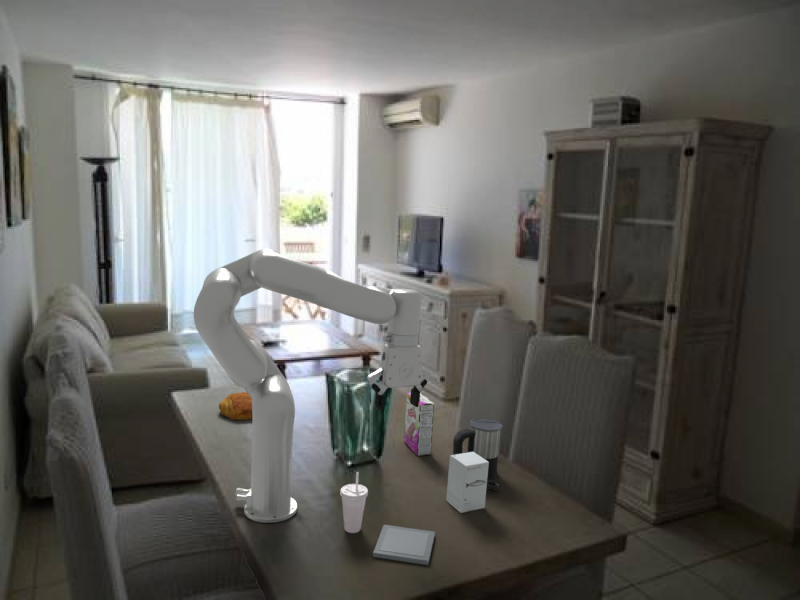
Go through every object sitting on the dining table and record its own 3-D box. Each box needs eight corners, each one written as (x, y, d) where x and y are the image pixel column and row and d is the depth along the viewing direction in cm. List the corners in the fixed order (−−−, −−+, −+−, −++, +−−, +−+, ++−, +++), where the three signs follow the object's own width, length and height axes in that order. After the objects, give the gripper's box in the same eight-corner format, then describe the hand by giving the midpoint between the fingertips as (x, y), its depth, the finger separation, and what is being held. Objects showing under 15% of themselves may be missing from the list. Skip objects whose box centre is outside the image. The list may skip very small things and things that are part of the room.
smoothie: (362, 538, 143) (365, 480, 141) (334, 533, 145) (337, 476, 142) (369, 524, 150) (372, 468, 147) (343, 519, 151) (345, 464, 148)
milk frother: (482, 464, 187) (486, 416, 185) (522, 485, 175) (527, 434, 172) (445, 474, 179) (449, 424, 176) (484, 497, 166) (489, 444, 164)
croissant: (220, 413, 222) (217, 392, 220) (265, 405, 226) (262, 384, 224) (221, 427, 208) (217, 404, 207) (269, 419, 212) (266, 396, 211)
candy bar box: (402, 442, 200) (405, 392, 197) (417, 440, 202) (420, 391, 199) (416, 456, 190) (420, 404, 187) (431, 455, 191) (435, 403, 189)
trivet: (372, 556, 136) (373, 552, 136) (383, 528, 148) (383, 524, 148) (428, 565, 134) (428, 560, 134) (434, 535, 146) (434, 531, 146)
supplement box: (461, 514, 157) (464, 466, 155) (445, 500, 163) (448, 454, 161) (485, 508, 160) (489, 461, 158) (469, 495, 167) (473, 450, 165)
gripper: (377, 345, 147) (372, 415, 150) (440, 342, 155) (434, 408, 158) (363, 337, 154) (359, 405, 156) (425, 335, 162) (419, 399, 165)
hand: (397, 407), depth 157 cm, fingers open, 9 cm apart
